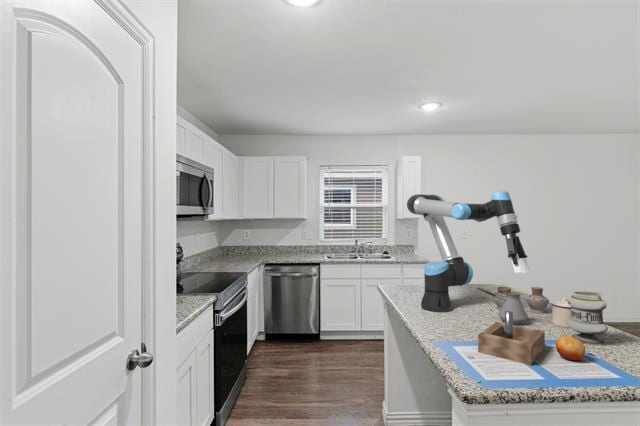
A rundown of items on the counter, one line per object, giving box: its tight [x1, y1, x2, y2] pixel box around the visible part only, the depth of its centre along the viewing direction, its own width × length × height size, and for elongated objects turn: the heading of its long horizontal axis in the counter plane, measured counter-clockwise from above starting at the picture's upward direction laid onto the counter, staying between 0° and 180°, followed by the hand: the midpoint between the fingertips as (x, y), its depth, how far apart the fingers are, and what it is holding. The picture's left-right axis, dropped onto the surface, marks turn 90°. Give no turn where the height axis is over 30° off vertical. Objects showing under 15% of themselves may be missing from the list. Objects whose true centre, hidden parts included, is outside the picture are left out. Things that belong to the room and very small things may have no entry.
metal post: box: [504, 311, 513, 339], centre depth 120 cm, size 4×4×14 cm
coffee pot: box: [475, 286, 529, 326], centre depth 156 cm, size 21×12×15 cm, turn 80°
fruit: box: [555, 335, 586, 361], centre depth 116 cm, size 8×8×8 cm
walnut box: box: [477, 321, 546, 366], centre depth 123 cm, size 16×20×6 cm
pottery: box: [491, 286, 550, 314], centre depth 175 cm, size 11×25×12 cm, turn 69°
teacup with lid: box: [551, 297, 571, 329], centre depth 152 cm, size 12×9×12 cm
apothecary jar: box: [567, 290, 609, 346], centre depth 132 cm, size 12×12×18 cm
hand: (522, 272), depth 149 cm, fingers open, 13 cm apart
